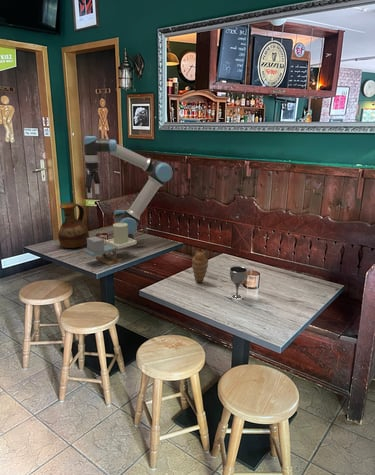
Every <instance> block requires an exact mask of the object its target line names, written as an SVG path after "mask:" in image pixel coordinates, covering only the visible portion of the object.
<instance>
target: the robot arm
mask: <svg viewBox="0 0 375 475" xmlns="http://www.w3.org/2000/svg"><path fill="white" fill-rule="evenodd" d="M116 140H117V139H107V138H104V137H102V138H100V139H97V136H94V135H92V136H91V135H89V136H88V135H87V136H84V138H83V146H84V158H85V164H84V165H85V168H86V169H87V170H86V174H85V175H86V176H85V185H84V186H85V188H86V193H87V199H93V191H92V190H93V189H92V184H93V182H94V194H95V195H100V184H101V178H100V175H99V171H98V170H99V169H98V168H99V163H98V161H99V159H98V158H99V157H98V156H99V155H98V153H108V154H110V155H113V156H114V157H117V158H119V159H120V160H124V161H125V162H127V163H129V164H132V165H134V166H135V167H138V168H141V169H142V170H143V171H144V172H145V173H147V174H149V175H148V180H147V182H146V183H145V185H144V186H143V187H142V189H141V190H140V192H139V194H137V197H136V198H135V200H134V201H133V203H132V204H131V206H130V207H129V208H127V209H117V210H114V211H113V217H114V218H113V219H114V220H113V222H114V223H113V224H115V223H127V224H128V238H131V239H133V240H135V237H134V233H135V232H136V230H137V229H138V224H139V222H140V221H141V215H142V213H143V212H144V211H145V209H146V208H147V207H148V205H149V203H150V202H151V200H152V199H153V197H154V196H155V194H156V193H157V191H158V190H159V189H160V187H164V186H165V184H166V182H168V181H170V180H171V179H172V177H173V174H174V173H173V169H172V166H170V164H168V163H166V162H163V161H160V160H155V159H152V158H151V157H148V158H147V157H146V156H143V155H141V154H139V153H136V152H134V151H133V150H130V149H129V148H126V147H125V146H122V145H120V144H118V143H117V141H116ZM113 238H114V235H113V237H112V239H113Z"/></svg>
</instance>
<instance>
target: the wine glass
mask: <svg viewBox="0 0 375 475" xmlns="http://www.w3.org/2000/svg"><path fill="white" fill-rule="evenodd" d="M247 272H248V271H247V267H244V266H238V265H235V266H231V267H230V269H229V276H230V281H231V282H232V284H234V286H235V289H236V290H235V291H236V292H235V294H236V295H233V294H232V295H233V296H232V297H233V298H236V299H237V298H241V296H240V295H241V294H239V288H240V286H241V285H242V284H243V283H244V282H245V281H246V277H247ZM238 294H239V295H238Z"/></svg>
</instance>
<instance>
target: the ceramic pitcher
mask: <svg viewBox="0 0 375 475" xmlns="http://www.w3.org/2000/svg"><path fill="white" fill-rule="evenodd" d="M76 207H77V208H78V217H76V216H75V213H74V212H75V211H74V210H75V208H76ZM59 208H60V209H61V210H62V211H63V214H64V215H63V216H64V217H65V219H64V221H63V223H62V224H61V226H60V227H59V230H58V233H57V234H58V242H59V244H60V246H61V247H63V248H66V249H71V248H72V249H74V248H78V247H79V248H80V247H81V246H84V245H87V238H90V234H89V231H88V228H87V227H86V226H85V224H84V223H83V219H84V215H85V210H84V207H83V206H82V205H81V204H79V203H76V202H66V203H62V204H60V205H59Z"/></svg>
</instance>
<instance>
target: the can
mask: <svg viewBox="0 0 375 475" xmlns="http://www.w3.org/2000/svg"><path fill="white" fill-rule="evenodd" d="M112 229H113V231H112V232H113V234H112V235H113V236H114V244H118V245H120V244H124V243H128V242H129V241H128V224H127V223H115V224H114V223H113V224H112Z"/></svg>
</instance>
